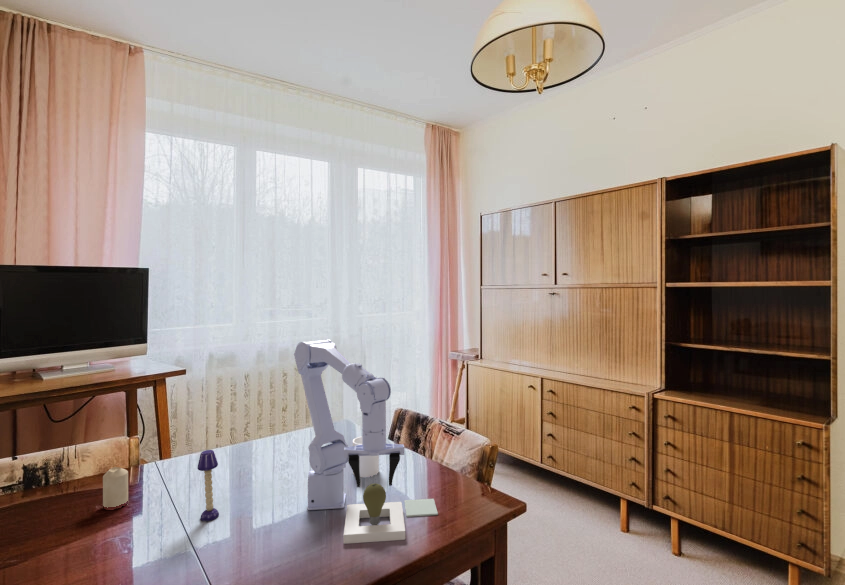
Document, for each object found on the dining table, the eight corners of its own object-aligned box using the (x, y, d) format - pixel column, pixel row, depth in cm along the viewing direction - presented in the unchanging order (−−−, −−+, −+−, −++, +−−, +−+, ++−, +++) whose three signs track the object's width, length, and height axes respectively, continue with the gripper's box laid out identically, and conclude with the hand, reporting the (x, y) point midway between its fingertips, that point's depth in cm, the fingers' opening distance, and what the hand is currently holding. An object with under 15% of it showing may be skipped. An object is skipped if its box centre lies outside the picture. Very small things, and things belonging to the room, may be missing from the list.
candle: (132, 503, 118) (132, 466, 118) (111, 512, 113) (110, 474, 113) (120, 499, 120) (120, 463, 120) (98, 508, 115) (98, 470, 115)
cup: (376, 461, 146) (376, 431, 146) (380, 476, 134) (380, 443, 134) (351, 463, 144) (351, 433, 144) (353, 478, 133) (353, 445, 133)
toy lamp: (197, 523, 107) (197, 456, 107) (197, 515, 111) (197, 450, 111) (219, 518, 109) (218, 452, 109) (218, 510, 114) (218, 446, 114)
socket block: (343, 543, 98) (343, 534, 98) (347, 512, 112) (347, 504, 112) (405, 539, 100) (405, 530, 100) (401, 509, 114) (401, 501, 114)
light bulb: (382, 532, 103) (382, 490, 103) (359, 530, 104) (359, 488, 104) (388, 520, 108) (388, 480, 108) (367, 518, 109) (367, 478, 109)
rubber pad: (406, 516, 110) (406, 515, 110) (404, 501, 118) (404, 500, 118) (437, 515, 111) (437, 513, 111) (433, 500, 119) (433, 498, 119)
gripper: (342, 435, 101) (343, 493, 101) (405, 433, 103) (405, 490, 103) (344, 426, 108) (345, 480, 108) (403, 424, 110) (403, 477, 110)
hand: (374, 484), depth 106 cm, fingers open, 7 cm apart
